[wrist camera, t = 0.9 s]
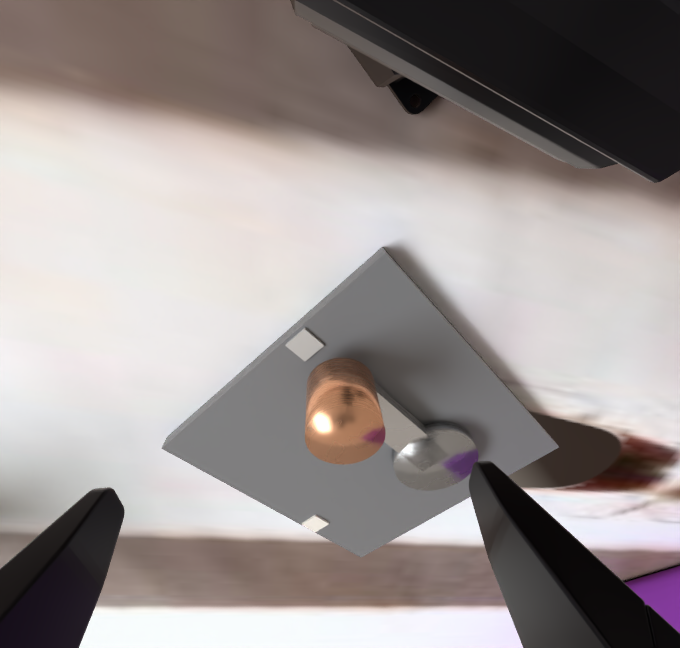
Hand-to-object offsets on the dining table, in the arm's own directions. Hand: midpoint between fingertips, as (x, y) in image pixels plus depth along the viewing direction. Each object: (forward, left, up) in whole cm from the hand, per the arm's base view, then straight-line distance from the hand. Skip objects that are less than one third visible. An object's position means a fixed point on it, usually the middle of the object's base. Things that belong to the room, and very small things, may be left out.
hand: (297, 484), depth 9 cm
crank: (+3, +11, -12) cm, 16 cm away
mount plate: (+6, +12, -13) cm, 18 cm away
